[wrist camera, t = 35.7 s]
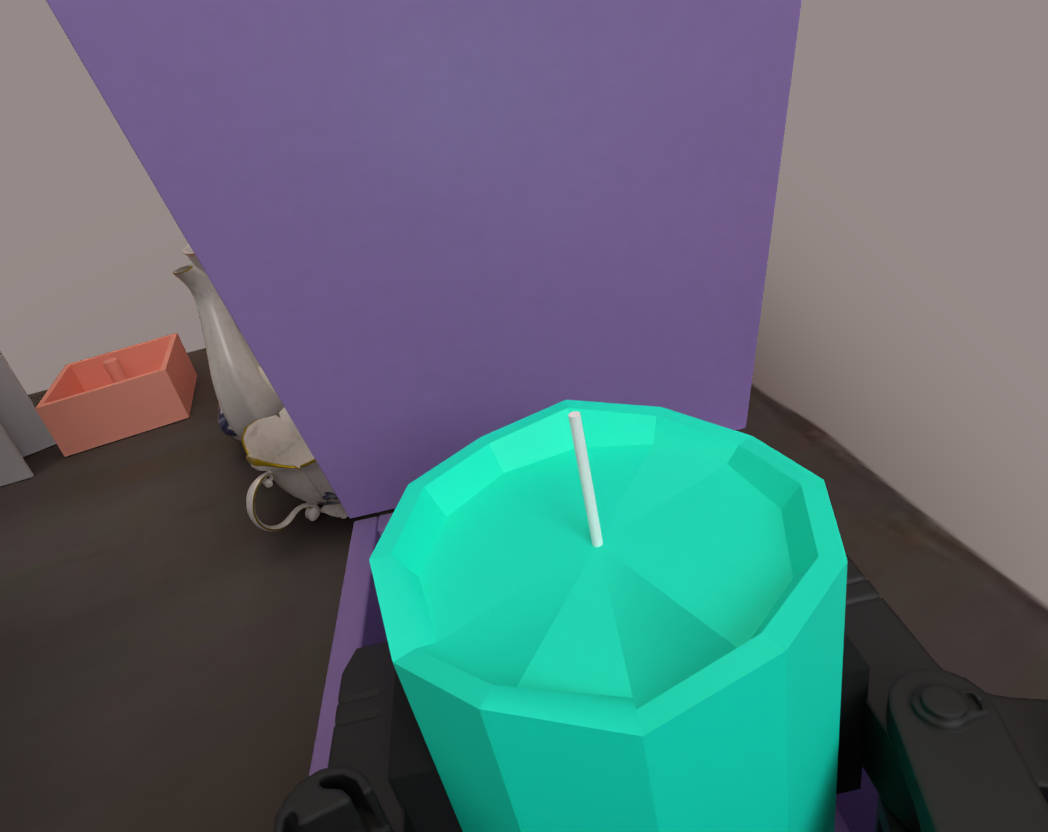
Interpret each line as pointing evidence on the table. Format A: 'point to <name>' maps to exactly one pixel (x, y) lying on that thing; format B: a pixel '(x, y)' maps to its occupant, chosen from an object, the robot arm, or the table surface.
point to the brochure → (18, 428)
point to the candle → (621, 626)
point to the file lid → (463, 202)
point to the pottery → (119, 394)
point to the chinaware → (255, 409)
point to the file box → (366, 628)
